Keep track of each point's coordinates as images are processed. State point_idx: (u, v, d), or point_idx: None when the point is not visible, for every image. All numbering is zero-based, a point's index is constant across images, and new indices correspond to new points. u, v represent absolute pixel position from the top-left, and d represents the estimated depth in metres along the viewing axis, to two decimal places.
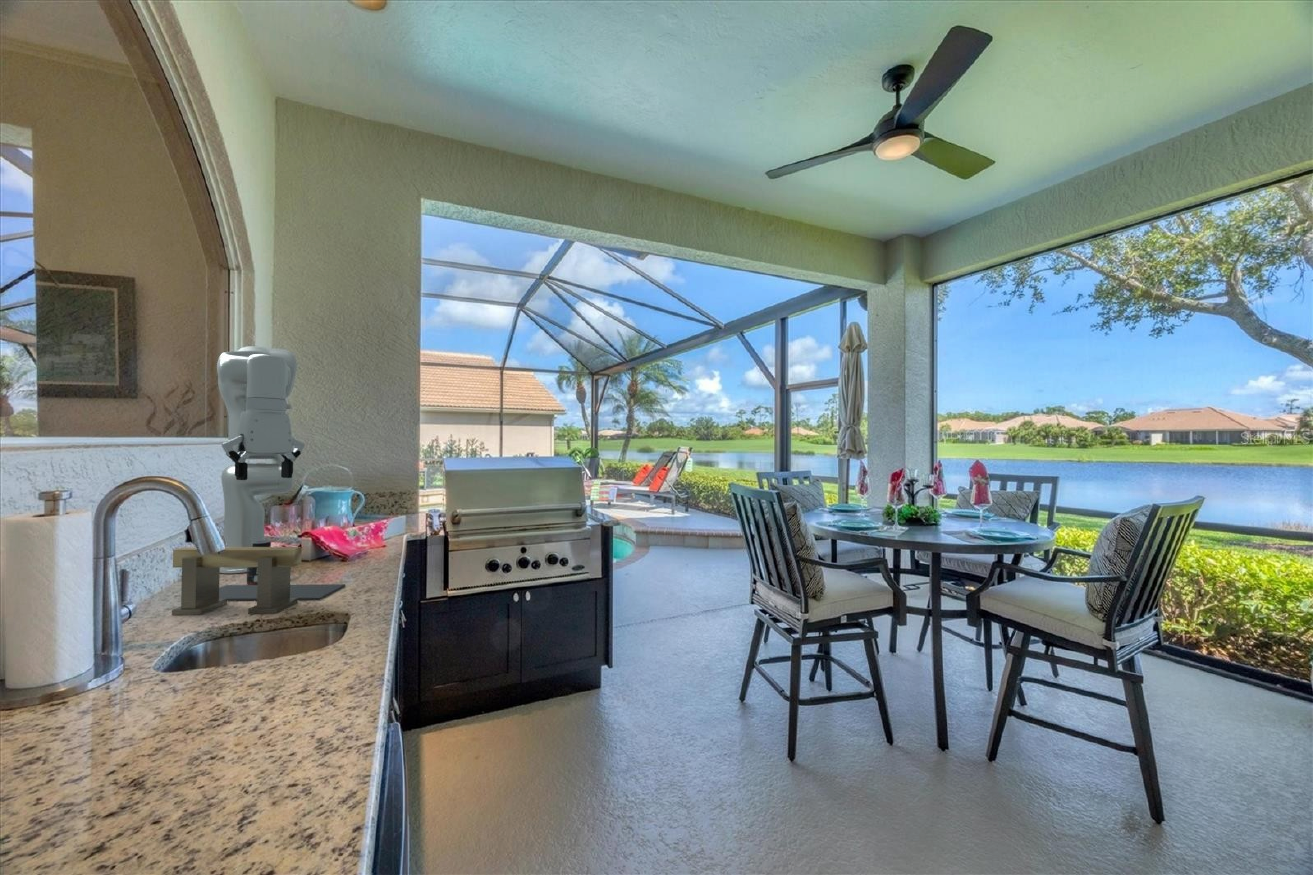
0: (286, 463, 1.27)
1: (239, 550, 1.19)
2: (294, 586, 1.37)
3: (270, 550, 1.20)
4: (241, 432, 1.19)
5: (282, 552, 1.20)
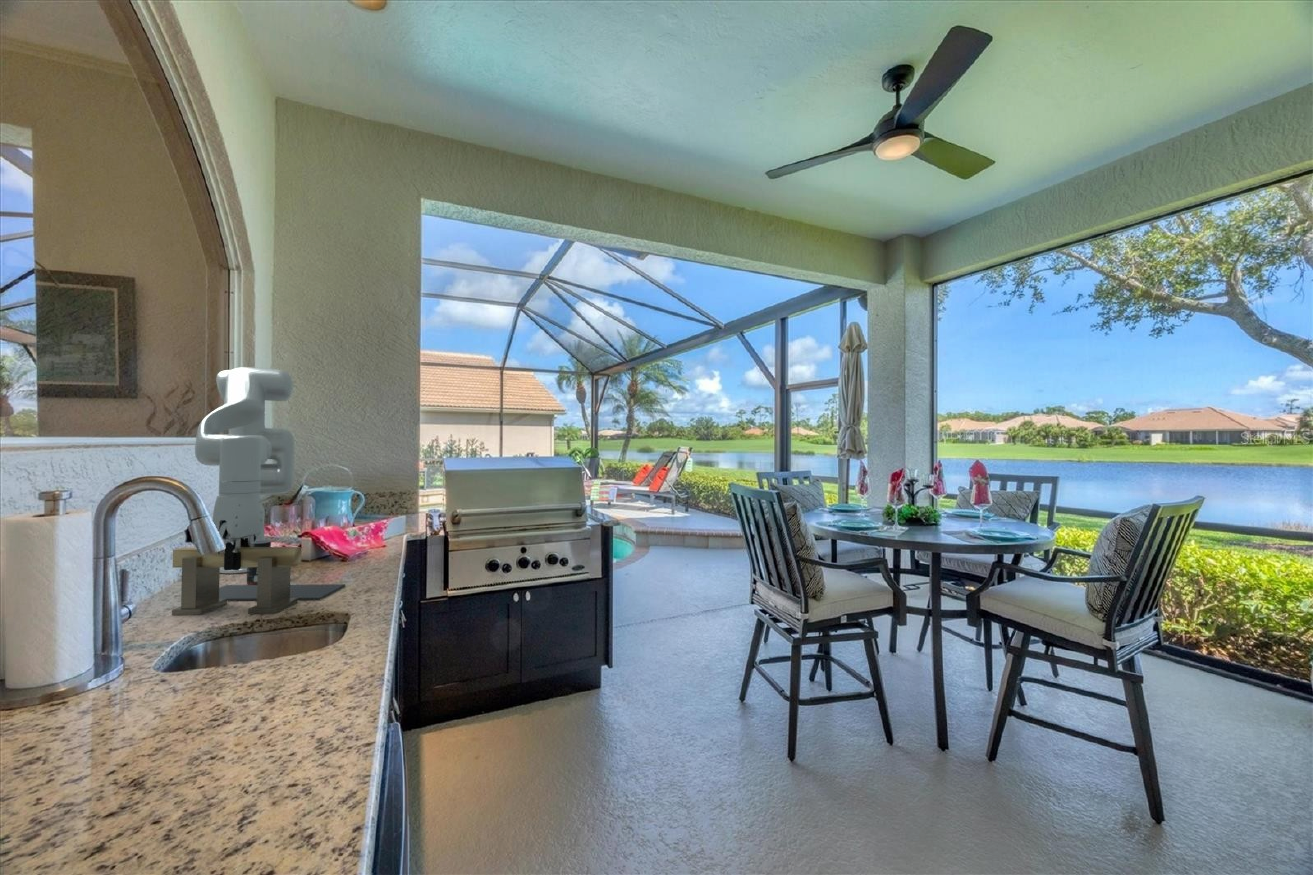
0: None
1: (239, 550, 1.19)
2: (294, 586, 1.37)
3: (270, 550, 1.20)
4: (222, 519, 1.15)
5: (282, 552, 1.20)
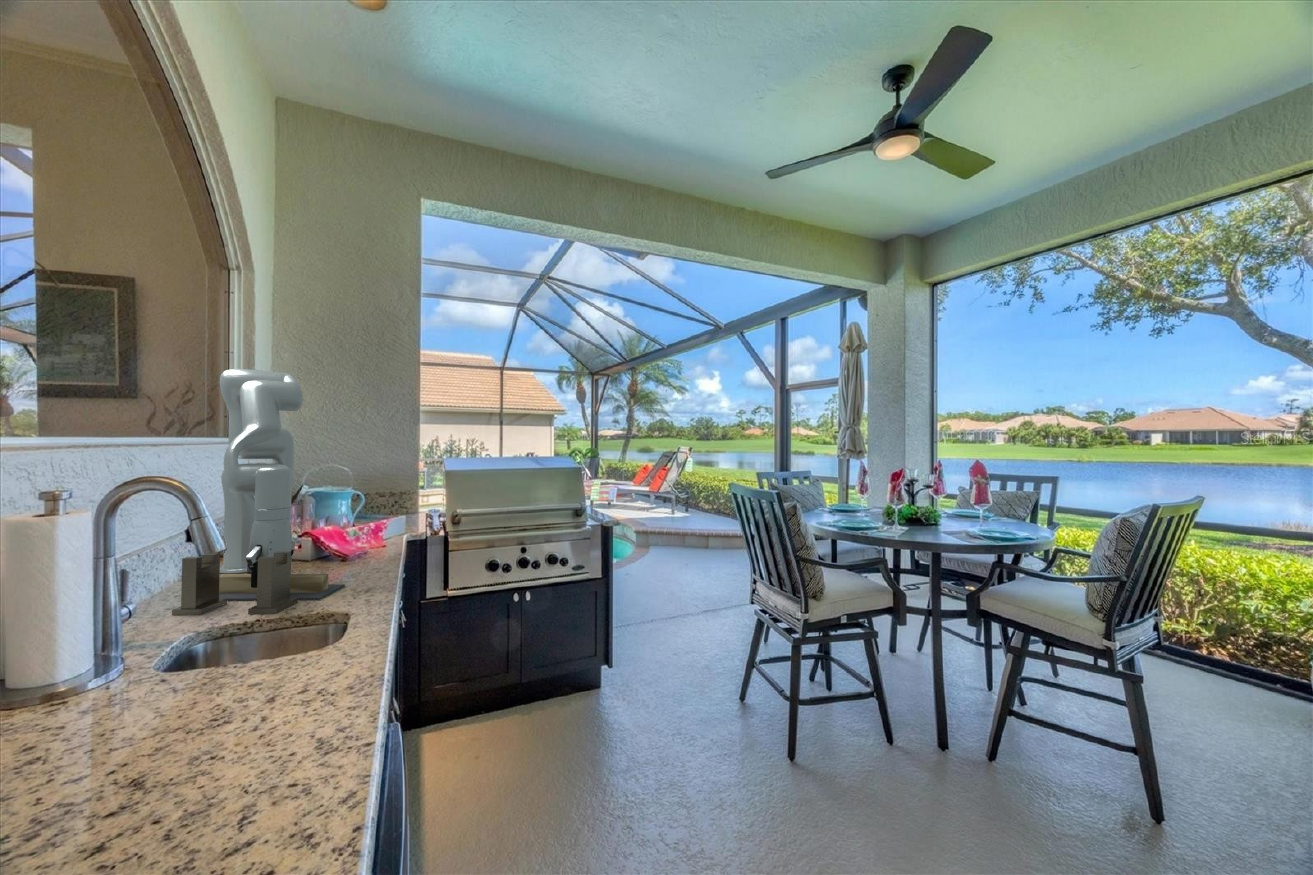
0: None
1: None
2: None
3: (301, 577, 1.32)
4: (258, 543, 1.27)
5: (311, 579, 1.32)
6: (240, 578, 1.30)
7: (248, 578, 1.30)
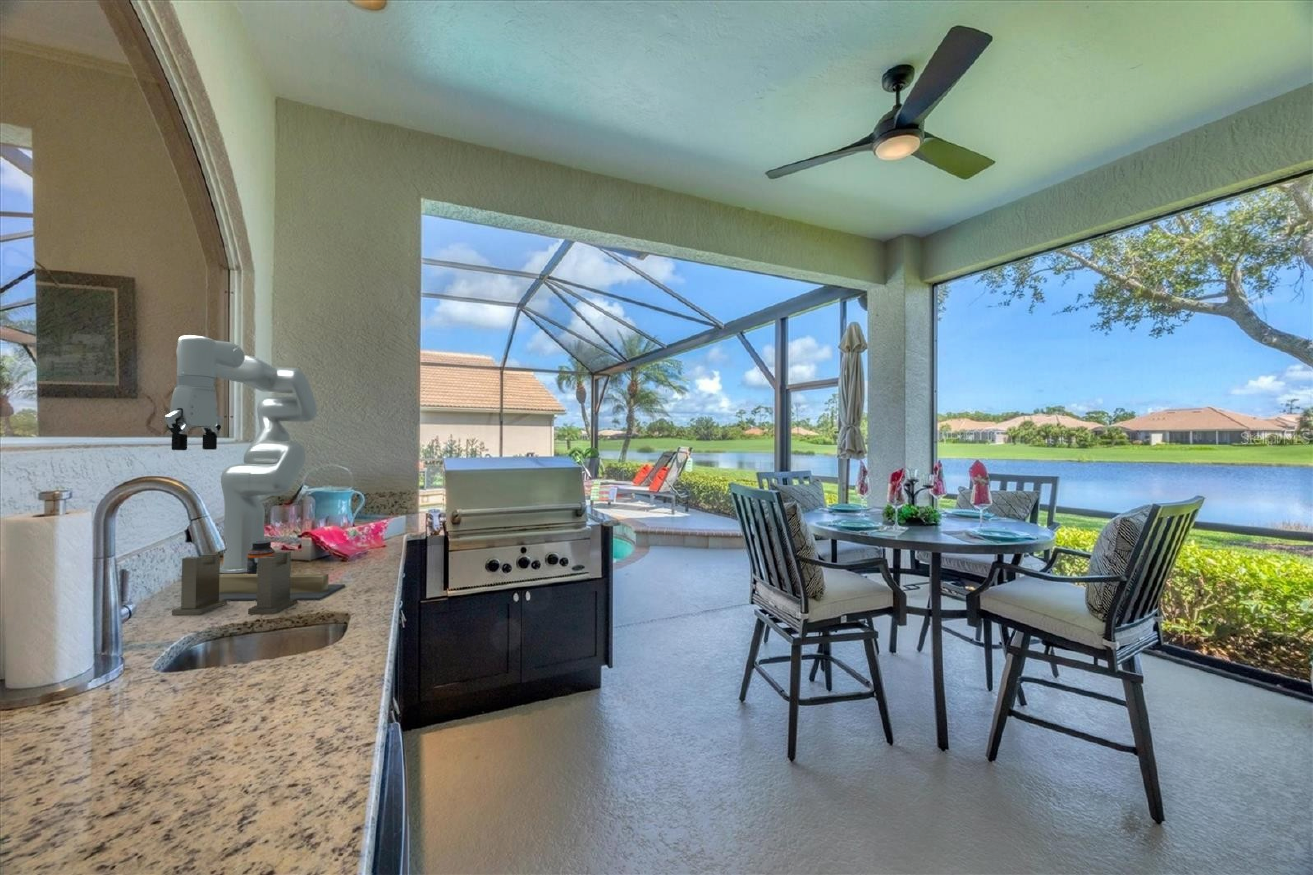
0: (210, 436, 1.39)
1: None
2: None
3: (301, 577, 1.32)
4: (178, 407, 1.30)
5: (311, 579, 1.32)
6: (240, 578, 1.30)
7: (248, 578, 1.30)
